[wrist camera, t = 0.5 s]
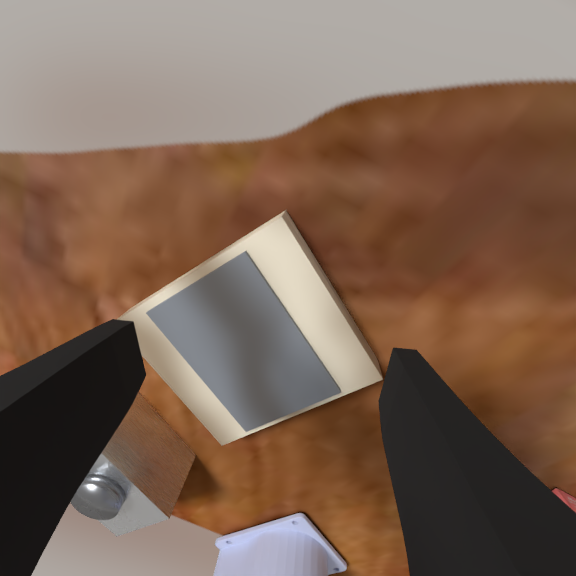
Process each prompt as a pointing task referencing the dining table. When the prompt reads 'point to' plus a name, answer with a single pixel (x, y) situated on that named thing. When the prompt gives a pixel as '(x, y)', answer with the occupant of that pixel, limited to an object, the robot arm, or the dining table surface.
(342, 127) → the dining table surface
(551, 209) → the dining table surface
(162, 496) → the housing
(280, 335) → the stand
